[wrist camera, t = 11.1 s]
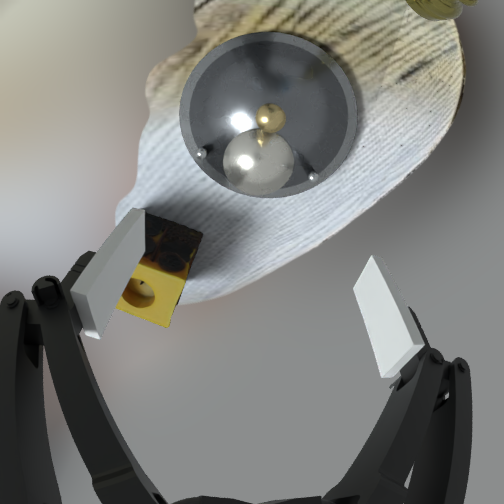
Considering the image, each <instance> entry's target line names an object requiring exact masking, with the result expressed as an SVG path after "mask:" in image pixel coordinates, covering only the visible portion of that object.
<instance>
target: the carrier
mask: <svg viewBox="0 0 504 504" xmlns="http://www.w3.org/2000/svg"><path fill="white" fill-rule="evenodd" d="M179 116H180V127H181V132H182V136H183V139H184V142H185V145H186V147H187V149H188V151H189V153H190V154H191V156H192V157H193V159H194V160H195V162H196V163H197V164H198V166H199V167H200V168H201V169H202V170H203V171H204V172H205V173H206V174H207V175H208V176H209V177H210V178H212V179H213V180H215V181H216V182H217V183H219V184H220V185H222V186H224V187H226V188H228V189H230V190H232V191H235V192H237V193H240V194H244V195H248V196H252V197H259V198H280V197H287V196H292V195H295V194H299V193H302V192H304V191H307V190H309V189H311V188H313V187H315V186H316V185H318V184H320V183H321V182H323V181H324V180H325V179H327V178H328V177H329V176H330V175H332V174H333V173H334V171H335V170H336V169H337V168H338V167H339V166H340V165H341V163H342V162H343V161H344V159H345V158H346V156H347V154H348V152H349V151H350V148H351V146H352V143H353V141H354V137H355V133H356V129H357V104H356V99H355V95H354V92H353V89H352V86H351V84H350V82H349V80H348V78H347V76H346V75H345V73H344V72H343V70H342V69H341V67H340V66H339V65H338V64H337V63H336V61H335V60H334V59H333V58H332V57H331V56H330V55H328V54H327V53H326V52H325V51H324V50H322V49H321V48H319V47H318V46H316V45H314V44H313V43H311V42H309V41H306V40H304V39H302V38H299V37H296V36H293V35H289V34H284V33H278V32H258V33H251V34H246V35H242V36H239V37H236V38H233V39H230V40H228V41H226V42H224V43H222V44H221V45H219V46H217V47H216V48H214V49H213V50H212V51H210V52H209V53H208V54H207V55H206V56H205V57H204V58H203V59H202V60H201V61H200V62H199V63H198V64H197V66H196V67H195V68H194V69H193V71H192V73H191V74H190V76H189V78H188V79H187V82H186V84H185V87H184V89H183V93H182V97H181V101H180V110H179Z"/></svg>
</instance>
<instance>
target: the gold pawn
mask: <svg viewBox="0 0 504 504" xmlns="http://www.w3.org/2000/svg"><path fill="white" fill-rule="evenodd" d="M406 2H407V3H408V5H409V6H410V7H411V8H412V9H413V10H414V11H415V12H416V13H417V14H419V15H420V16H422V17H423V18H425V19H428V20H431V21H439V20H447V19H455V18H457V17H459V16H460V15H461V13H462V9H463V5H462V3H463V4H465V5H467V6H475V5H477V3H478V0H406Z"/></svg>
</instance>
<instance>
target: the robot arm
mask: <svg viewBox="0 0 504 504" xmlns="http://www.w3.org/2000/svg"><path fill="white" fill-rule="evenodd" d="M144 252H145V210H142V209H136V208H132V209H131V210H130V211H129V212H128V214H127V215H126V216H125V217H124V218H123V220H122V221H121V222H120V223H119V224H118V226H117V227H116V228H115V229H114V231H113V232H112V233H111V234H110V236H109V237H108V238H107V239H106V241H105V242H104V243H103V245H102V246H101V247H100V249H99V250H98V251H97V253H96V252H92V251H88V252H86V253H85V254H83V255H82V256H80V257H79V259H78V260H77V261H76V263H75V265H73V267H72V268H71V271H69V272H68V273H67V275H66V277H65V278H64V279H63V280H62V282H61V283H60V281H59V279H58V278H56V277H55V276H50V275H49V276H44V277H41V278H39V279H38V280H37V281H36V282H35V283H34V285H33V286H32V294H33V296H34V299H35V300H25V298H24V296H23V294H22V293H21V292H20V291H11V292H9V293H8V294H6V295H5V296H4V297H3V299H2V301H1V304H0V504H62V502H61V496H60V492H59V487H58V483H57V480H56V476H55V471H54V467H53V463H52V458H51V452H50V447H49V441H48V434H47V427H46V418H45V408H44V394H43V346H44V347H45V351H46V356H47V360H48V365H49V369H50V372H51V376H52V379H53V383H54V387H55V390H56V393H57V396H58V400H59V403H60V405H61V408H62V411H63V414H64V417H65V419H66V422H67V425H68V427H69V430H70V432H71V435H72V437H73V439H74V442H75V444H76V446H77V448H78V451H79V453H80V455H81V457H82V459H83V461H84V463H85V465H86V467H87V469H88V471H89V473H90V475H91V477H92V485H93V487H94V490H95V492H96V494H97V496H98V498H99V499H100V501H101V503H102V504H168V503H167V502H166V500H165V499H164V498H163V496H162V495H161V494H160V492H159V491H158V490H157V488H156V487H155V486H154V484H153V483H152V482H151V480H150V479H149V478H148V477H147V475H146V474H145V473H144V471H143V470H142V468H141V466H140V465H139V463H138V462H137V460H136V459H135V457H134V456H133V454H132V452H131V450H130V448H129V447H128V445H127V443H126V441H125V440H124V438H123V436H122V434H121V432H120V431H119V429H118V427H117V425H116V423H115V421H114V419H113V417H112V415H111V413H110V411H109V409H108V407H107V404H106V402H105V400H104V398H103V395H102V393H101V391H100V389H99V386H98V384H97V382H96V379H95V377H94V374H93V371H92V369H91V366H90V363H89V361H88V358H87V355H86V352H85V350H84V346H83V343H82V340H81V337H80V335H79V333H80V331H81V329H82V328H83V329H84V332H85V334H86V335H87V336H90V337H93V338H96V339H101V337H102V335H103V333H104V330H105V328H106V326H107V324H108V322H109V320H110V318H111V316H112V313H113V311H114V309H115V307H116V305H117V303H118V301H119V299H120V297H121V295H122V293H123V291H124V289H125V287H126V285H127V283H128V282H129V280H130V278H131V276H132V274H133V272H134V270H135V268H136V267H137V265H138V263H139V261H140V259H141V258H142V256H143V254H144ZM353 290H354V293H355V296H356V299H357V301H358V304H359V307H360V310H361V313H362V315H363V319H364V322H365V325H366V328H367V331H368V334H369V337H370V341H371V344H372V347H373V350H374V354H375V357H376V361H377V364H378V368H379V371H380V374H381V377H382V378H384V377H393V376H394V375H395V374H397V373H398V372H399V371H400V373H401V376H400V377H399V378H398V379H397V380H396V381H395V382H394V383H393V384H392V385H391V386H390V387H389V388H392V387H393V386H394V389H393V391H392V393H391V396H390V397H389V400H388V402H387V404H386V406H385V408H384V410H383V412H382V414H381V416H380V418H379V420H378V422H377V424H376V425H375V427H374V429H373V431H372V433H371V434H370V436H369V438H368V440H367V441H366V443H365V445H364V446H363V448H362V450H361V451H360V453H359V454H358V456H357V458H356V459H355V461H354V462H353V464H352V466H351V467H350V468H349V470H348V471H347V473H346V474H345V476H344V477H343V479H342V480H341V481H340V482H339V483H338V484H337V485H336V486H335V487H333V488H332V489H331V490H330V491H329V492H328V493H327V494H326V495H325V496H324V497H323V498H322V499H321V496H315V497H306V498H294V499H284V500H274V501H269V502H264V503H259V504H403V503H404V504H463V503H464V499H465V493H466V488H467V482H468V475H469V467H470V458H471V445H472V392H471V391H472V390H471V377H470V369H469V366H468V364H467V362H466V361H465V360H464V359H462V358H460V357H458V358H456V359H455V360H454V361H453V362H452V363H451V362H448V361H445V360H444V358H443V356H442V354H441V353H440V352H439V351H438V350H436V349H434V348H431V347H430V345H429V343H428V340H427V338H426V336H425V334H424V331H423V329H422V328H421V325H420V323H419V322H418V319H417V316H416V314H415V313H414V312H413V311H412V309H411V308H410V307H408V306H407V304H406V302H405V300H404V298H403V296H402V294H401V292H400V290H399V288H398V286H397V285H396V283H395V281H394V279H393V277H392V275H391V273H390V271H389V270H388V268H387V266H386V264H385V262H384V261H383V259H382V257H379V256H374V255H371V257H370V259H369V261H368V263H367V265H366V266H365V268H364V270H363V272H362V274H361V275H360V277H359V279H358V281H357V283H356V284H355V286H354V288H353ZM448 392H449V398H447V399H446V400H445V395H446V394H447V393H448ZM414 461H415V462H414ZM413 464H414V466H413ZM412 466H413V471H412V475H411V479H410V483H409V487H408V489H407V488H406V487H404V483H405V481H406V479H407V477H408V475H409V473H410V470H411V468H412ZM173 504H252V503H247V502H244V501H240V500H236V499H230V498H219V497H209V496H199V497H193V498H187V499H183V500H180V501H177V502H174V503H173Z"/></svg>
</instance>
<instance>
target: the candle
mask: <svg viewBox="0 0 504 504" xmlns="http://www.w3.org/2000/svg"><path fill="white" fill-rule="evenodd" d="M202 236H203V234H202V233H201V232H197V231H195V230H193V229H189V228H188V227H186V226H183V225H180V224H177V223H175V222H172V221H168V220H166V219H163V218H161V217H157V216H154V215H150V214H148V213H146V212H145V252H144V254H143V256H142V258H141V259H140V261H139V263H138V265H137V267H136V268H135V270H134V272H133V274H132V276H131V278H130V280H129V282H128V283H127V285H126V287H125V289H124V291H123V293H122V295H121V297H120V299H119V301H118V303H117V305H116V307H115V308H117V309H119V310H122V311H124V312H127V313H129V314H132V315H135V316H137V317H140V318H142V319H145V320H148V321H150V322H153V323H155V324H158V325H160V326H163V327H165V328H167V327H169V325H170V318H171V316H172V314H173V312H174V308H175V306H176V305H178V302H179V299H180V296H181V294H182V291H183V288H184V285H185V283H186V279H187V275H188V273H189V270H190V268H191V265H192V262H193V260H194V258H195V255H196V253H197V250H198V247H199V244H200V242H201V239H202Z"/></svg>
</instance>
